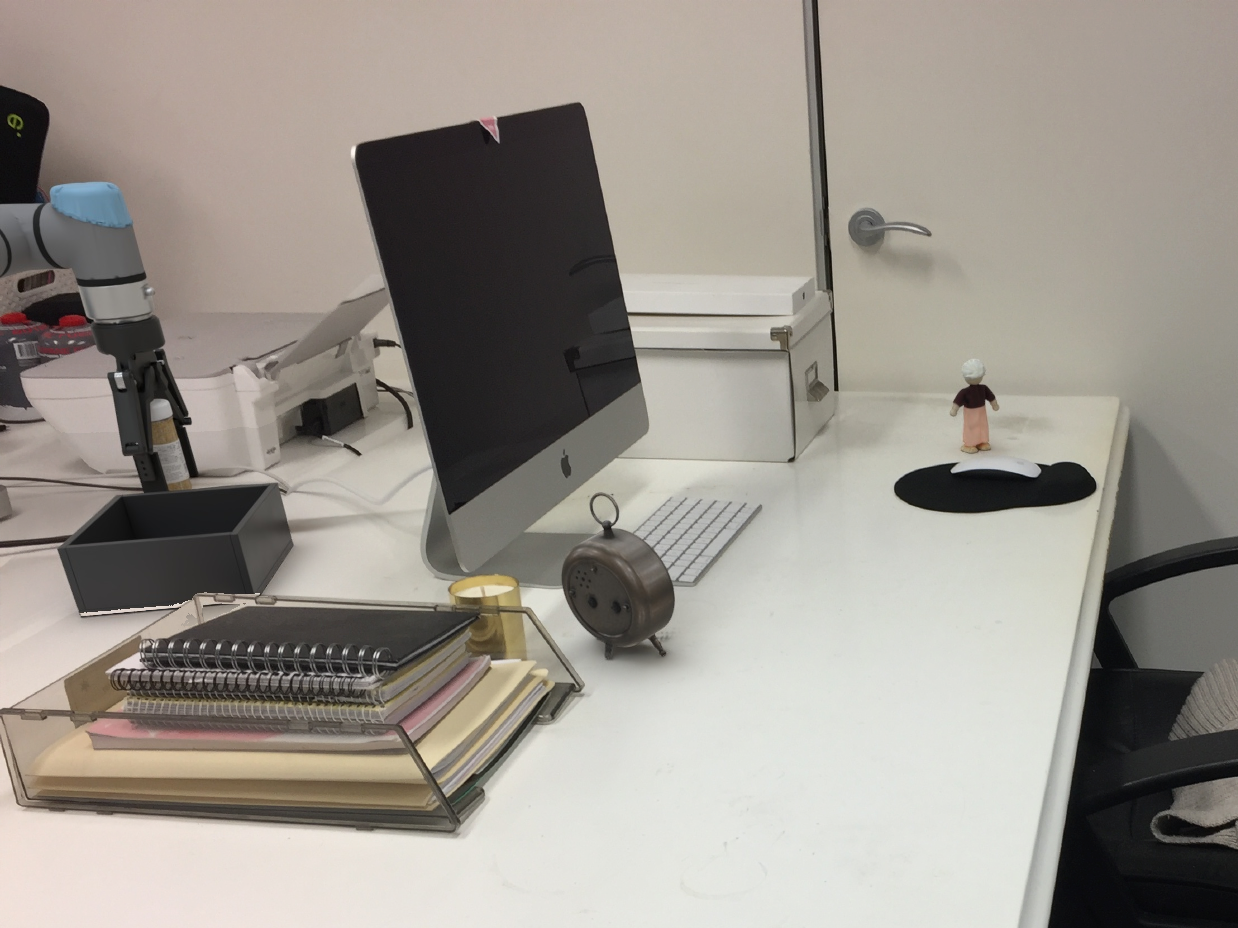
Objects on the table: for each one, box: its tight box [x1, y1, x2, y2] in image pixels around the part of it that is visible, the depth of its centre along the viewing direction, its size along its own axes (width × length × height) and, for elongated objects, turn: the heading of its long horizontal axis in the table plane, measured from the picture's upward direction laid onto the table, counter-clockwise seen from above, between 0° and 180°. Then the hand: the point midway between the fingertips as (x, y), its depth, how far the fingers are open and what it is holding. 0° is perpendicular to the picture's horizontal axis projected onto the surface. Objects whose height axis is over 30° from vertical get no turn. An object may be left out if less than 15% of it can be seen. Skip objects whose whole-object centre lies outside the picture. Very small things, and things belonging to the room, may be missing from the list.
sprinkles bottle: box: [150, 399, 193, 491], centre depth 169 cm, size 5×5×14 cm
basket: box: [56, 482, 295, 614], centre depth 146 cm, size 18×18×8 cm
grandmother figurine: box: [949, 358, 1000, 454], centre depth 181 cm, size 8×4×13 cm, turn 130°
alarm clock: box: [561, 491, 676, 660], centre depth 124 cm, size 11×5×16 cm, turn 59°
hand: (174, 489), depth 171 cm, fingers open, 11 cm apart
